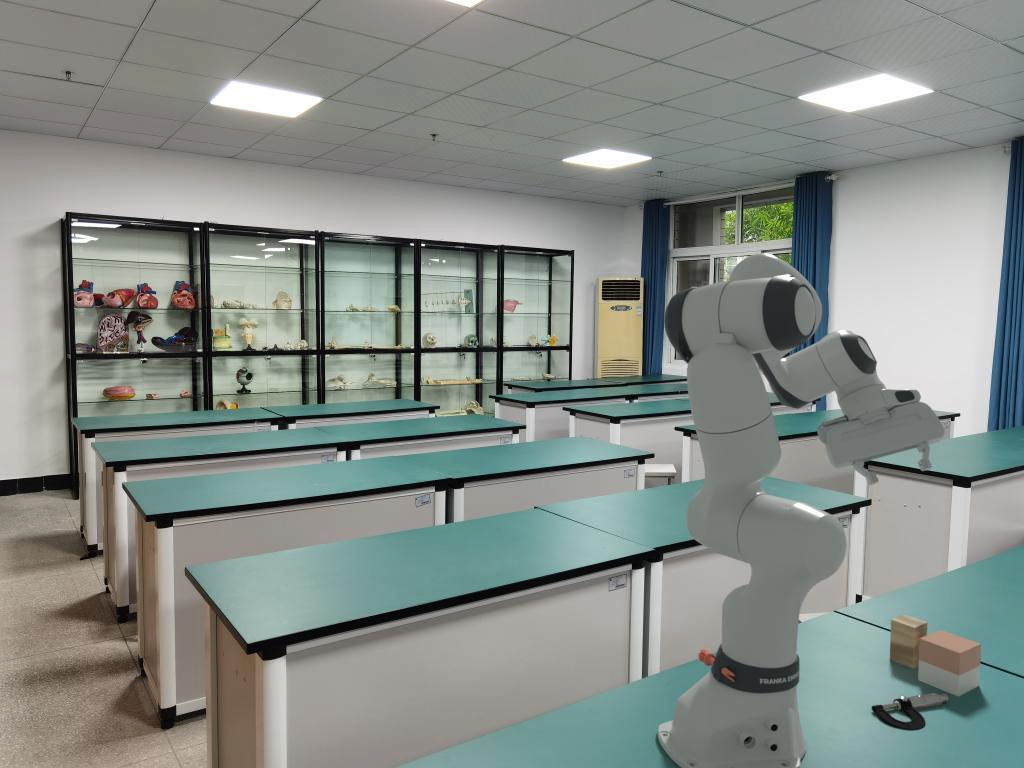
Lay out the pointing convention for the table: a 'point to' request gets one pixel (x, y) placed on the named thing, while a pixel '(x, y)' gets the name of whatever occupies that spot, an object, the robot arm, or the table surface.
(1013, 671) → the table surface
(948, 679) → the off-white tower block
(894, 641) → the oak block
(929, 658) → the terracotta tower block
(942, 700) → the micrometer
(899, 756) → the table surface
